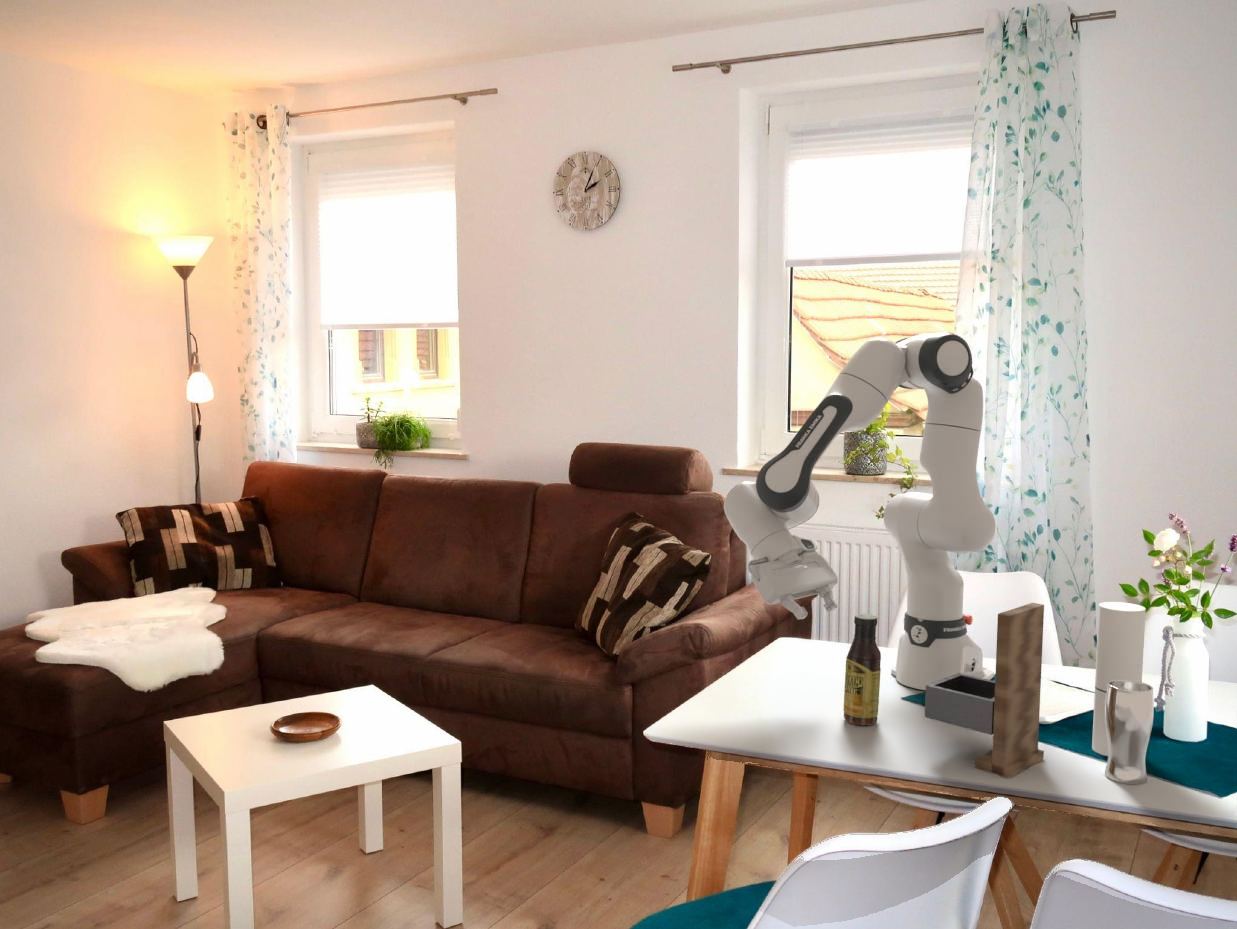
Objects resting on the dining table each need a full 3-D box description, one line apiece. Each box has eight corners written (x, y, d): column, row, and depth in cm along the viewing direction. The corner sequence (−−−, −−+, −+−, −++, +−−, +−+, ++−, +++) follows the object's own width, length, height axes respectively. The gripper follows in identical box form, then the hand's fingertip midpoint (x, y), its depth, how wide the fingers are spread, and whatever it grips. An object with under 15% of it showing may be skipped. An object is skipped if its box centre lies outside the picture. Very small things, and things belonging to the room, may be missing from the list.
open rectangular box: (957, 703, 189) (958, 672, 188) (1026, 720, 180) (1027, 688, 179) (924, 717, 181) (925, 685, 181) (994, 735, 172) (995, 702, 172)
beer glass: (1155, 787, 167) (1160, 693, 165) (1107, 783, 168) (1112, 690, 167) (1143, 771, 174) (1147, 680, 172) (1097, 767, 175) (1101, 677, 174)
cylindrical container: (1135, 761, 178) (1143, 613, 176) (1088, 753, 182) (1095, 607, 179) (1140, 748, 184) (1148, 605, 182) (1095, 740, 188) (1102, 600, 185)
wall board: (1008, 750, 183) (1015, 599, 180) (1043, 759, 178) (1050, 605, 176) (974, 767, 175) (980, 610, 172) (1009, 778, 170) (1016, 617, 168)
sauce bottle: (836, 718, 199) (839, 613, 197) (864, 714, 201) (867, 610, 199) (857, 729, 193) (860, 620, 191) (886, 725, 195) (889, 617, 193)
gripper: (753, 551, 200) (794, 612, 194) (818, 540, 214) (859, 596, 208) (734, 571, 203) (774, 632, 197) (800, 559, 217) (839, 614, 211)
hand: (818, 613), depth 202 cm, fingers open, 8 cm apart
